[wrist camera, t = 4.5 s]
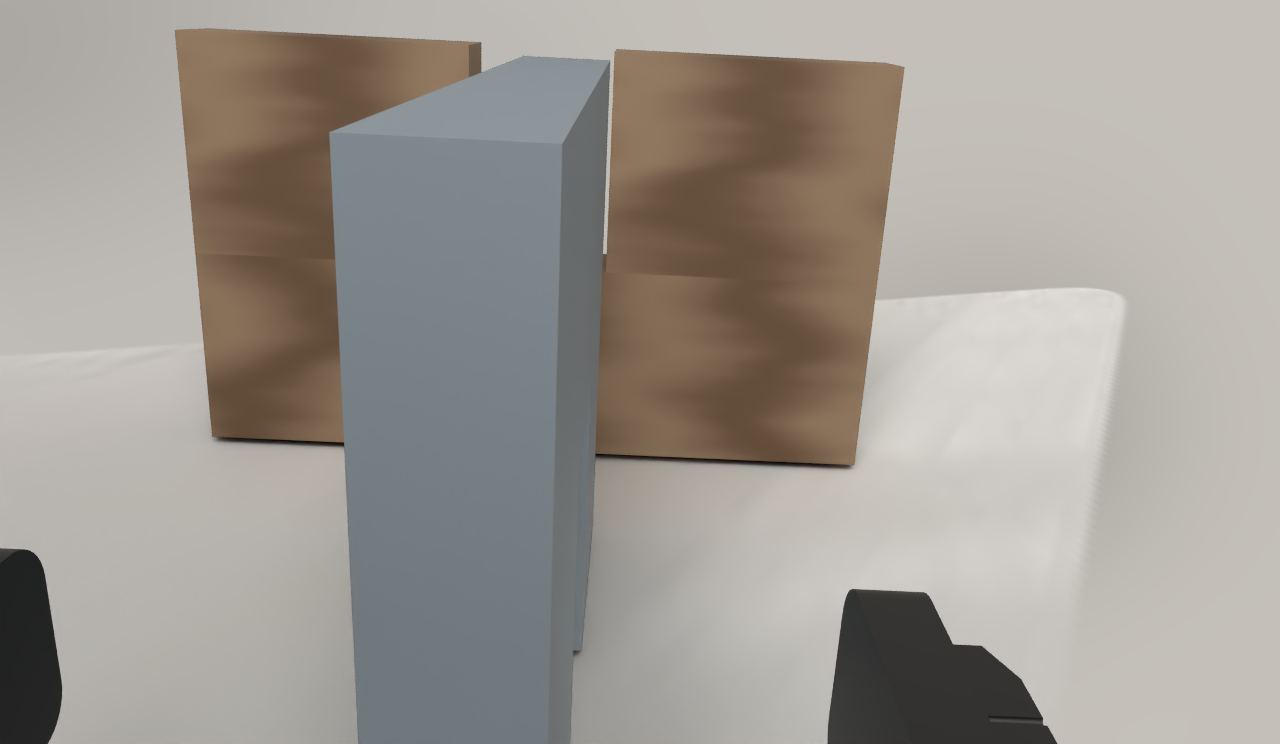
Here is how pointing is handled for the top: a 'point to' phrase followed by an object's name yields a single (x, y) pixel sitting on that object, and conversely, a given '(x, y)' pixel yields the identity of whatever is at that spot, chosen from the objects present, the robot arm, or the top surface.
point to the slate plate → (471, 398)
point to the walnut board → (636, 244)
